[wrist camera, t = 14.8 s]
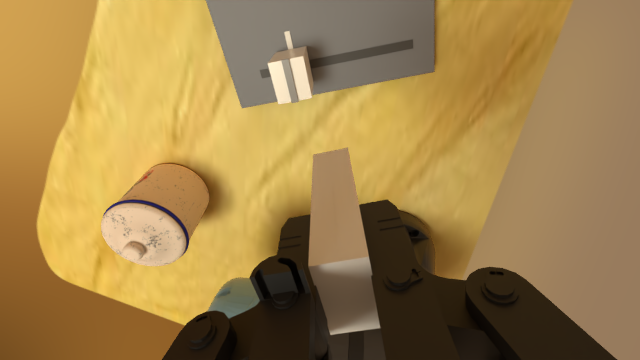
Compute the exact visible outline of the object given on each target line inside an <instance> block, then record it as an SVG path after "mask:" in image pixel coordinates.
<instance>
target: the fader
mask: <svg viewBox="0 0 640 360" xmlns="http://www.w3.org/2000/svg"><path fill="white" fill-rule="evenodd" d="M268 67H269V71H270V74H271V78H272V82H273V86H274V89H275V93H276V97H277V100H278V104H283V103H288V102H292V103H295V102H299V100H304V99H309V98H312V93H313V84H314V83H313V78H312V73H311V68H310V63H309V58H308V53H307V48H306V46H304V47H299V48H294V49H290V50H285V51H280V52H276V53H275V54H274V55H273V57H272V58H271V59H270V61H269V62H268Z"/></svg>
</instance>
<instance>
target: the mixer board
mask: <svg viewBox="0 0 640 360" xmlns="http://www.w3.org/2000/svg"><path fill="white" fill-rule="evenodd" d="M206 2H207V5H208V8H209V11H210V14H211V17H212V20H213V23H214V26H215V29H216V32H217V35H218V38H219V41H220V44H221V47H222V50H223V53H224V56H225V59H226V62H227V65H228V68H229V71H230V74H231V77H232V80H233V83H234V86H235V89H236V92H237V95H238V98H239V101H240V104H241V107H242V108H246V107H251V106H256V105H262V104H267V103H272V102H277V101H278V100H277V97H276V93H275V89H274V86H273V82H272V78H271V74H270V71H269V67H268V62H269V61H270V59H271V58H272V57H273V55H274V54H275V53H276V52H280V51H285V50H290V49H294V48H299V47H304V46H306V48H307V53H308V58H309V63H310V68H311V73H312V78H313V83H314V84H313V93H312V95H314V94H320V93H325V92H330V91H336V90H341V89H346V88H351V87H357V86H362V85H367V84H373V83H378V82H383V81H388V80H394V79H399V78H404V77H410V76H415V75H420V74H425V73H431V72H434V0H206Z"/></svg>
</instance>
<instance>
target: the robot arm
mask: <svg viewBox="0 0 640 360" xmlns="http://www.w3.org/2000/svg"><path fill="white" fill-rule="evenodd" d="M278 249H279V250H278V252H277V255H275V256H272V257H269V258H267V259H266V260H264V261H262V262H261V263H260V264H259V265H258V266H257V267H256V268H255V269H254V270H253V272H252V274H251V276H250V278H234V279H232V280H230V281H228V282H227V283H225V284H224V285H223V287H222V288H221V289H220V290H219V292H218V293H217V295H216V296H215V298H214V300H213V302H212V303H211V305H210V307H209V309H208V311H207V312H205V313H202V314H200V315H198V316H196V317H195V318H193V319H192V320H191V321H189V322H188V323H187V324H186V325H185V327H184V328H183V329H182V330H181V331H180V333H179V334H178V336H177V337H176V339H175V340H174V342H173V343H172V345H171V347H170V348H169V350H168V351H167V353H166V354H165V356H164V357H163V359H162V360H617V359H616V358H614V357H613V356H612V355H611V354H610V353H609V352H608V351H607V350H605V349H604V348H603V347H602V346H601V345H600V344H599V343H597V342H596V341H595V340H594V339H593V338H592V337H591V336H589V335H588V334H587V333H586V332H585V331H584V330H583V329H582V328H580V327H579V326H578V325H577V324H576V323H575V322H574V321H572V320H571V319H570V318H569V317H568V316H567V315H565V314H564V313H563V312H562V311H561V310H560V309H559V308H558V307H557V306H555V305H554V304H553V303H552V302H551V301H550V300H549V299H547V298H546V297H545V296H544V295H543V294H542V293H540V292H539V291H538V290H537V289H536V288H535V287H534V286H533V285H532V284H530V283H529V282H528V281H527V280H526V279H524V278H523V277H521V276H520V275H518V274H517V273H515V272H512V271H509V270H506V269H503V268H495V267H487V268H481V269H478V270H476V271H474V272H473V273H471V274H470V275H469V277H468V278H467V280H456V279H448V278H443V277H438V276H436V275H435V249H434V244H433V242H432V239H431V237H430V234H429V232H428V230H427V228H426V227H425V226H424V224H423V223H422V222H421V221H419V220H418V219H417V218H415V217H414V216H412V215H410V214H408V213H405V212H402V211H398V209H397V207H396V206H395V205H393V204H392V203H391V202H390V201H388V200H382V201H377V202H371V203H366V204H360V205H359V203H358V198H357V193H356V188H355V183H354V177H353V172H352V167H351V162H350V157H349V152H348V148H344V149H339V150H334V151H329V152H324V153H319V154H314V155H313V173H312V195H311V215H305V216H300V217H294V218H289V219H288V220H287V222H286V223H285V225H284V226H283V227H282V229H281V235H280V241H279V247H278Z"/></svg>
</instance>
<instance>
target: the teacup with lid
mask: <svg viewBox="0 0 640 360" xmlns="http://www.w3.org/2000/svg"><path fill="white" fill-rule="evenodd" d="M208 203H209V192H208V189H207V186H206V185H205V183H204V181H203V180H202V179H201V178H200V177H199V176H198V175H197V174H196V173H194V172H193V171H191V170H190V169H188V168H185V167H183V166H180V165H176V164H161V165H157V166H154V167H152V168H151V169H149V170H148V171H147V172H146V173H145V174H144V175H143V176H142V177H141V178H140V179H139V180H138V181H137V182H136V184H135V185H134V186H133V187H132V188H131V189H130V190H129V191H128V192H127V193H126V194H125V195H124V196H123V197H122V198H121V199H120V200H119V201H118V202H117V203H115V204H113V205H112V206H110V207H109V208H108V209H107V210H106V212H105V213H104V215H103V219H102V222H101V230H102V234H103V237H104V239H105V241H106V242H107V244H108V245H109V246H110V247H111V248H112V249H113V250H114V251H115V252H116V253H117V254H119V255H120V256H122V257H123V258H125V259H127V260H129V261H132V262H134V263H137V264H141V265H146V266H162V265H167V264H170V263H172V262H174V261H176V260H177V259H179V258H180V257H181V256H182V255H183V254H184V253H185V252H186V250H187V248H188V245H189V240H190V238H191V236H192V234H193V232H194V230H195V229H196V227H197V225H198V223H199V221H200V219H201V217H202V215H203V213H204V212H205V210H206V208H207V206H208Z"/></svg>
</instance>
